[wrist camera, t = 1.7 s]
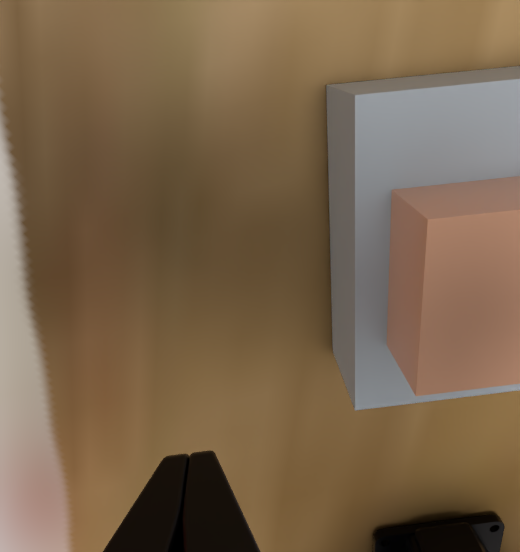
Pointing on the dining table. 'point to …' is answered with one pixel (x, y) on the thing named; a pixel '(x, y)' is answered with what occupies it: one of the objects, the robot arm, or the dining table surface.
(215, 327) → the dining table surface
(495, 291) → the tile
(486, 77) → the light grey slab
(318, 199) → the dining table surface
